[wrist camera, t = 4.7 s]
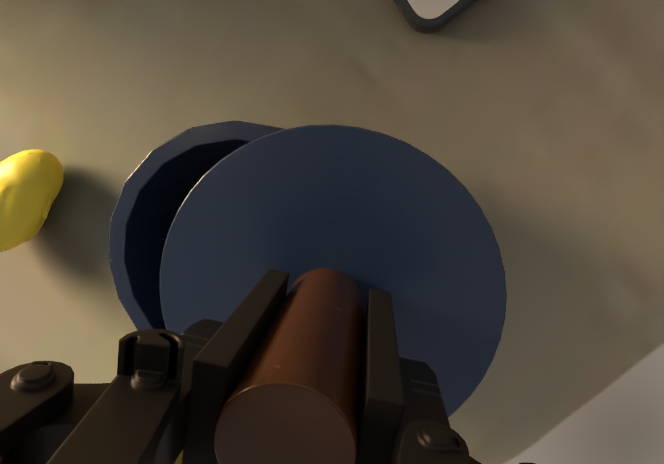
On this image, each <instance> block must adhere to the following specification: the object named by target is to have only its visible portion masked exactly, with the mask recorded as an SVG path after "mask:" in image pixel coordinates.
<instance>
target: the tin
mask: <svg viewBox="0 0 664 464" xmlns="http://www.w3.org/2000/svg"><path fill="white" fill-rule="evenodd" d="M281 130H285V129H283V128H277V127H271V126H265V125H259V124H253V123H247V122H242V121H228V122H222V123H216V124H210V125H204V126H198V127H192V128H191V129H187V130H186V131H184V132H182V133H180V134H179V135H177V136H175V137H173V138H171V139H170V140H168V141H166V142H164V143H163V144H161V145H159V146H157V147H155V148H154V149H153V150H152V151H151V152H150V153H149V154H148V155H147V157H146V158H145V159H144V160H143V161H142V162H141V164H140V165H139V166H138V167H137V168H136V169H135V170H134V172H133V173H132V174H131V175H130V176H129V177H128V179H127V180H126V181H125V183H124V186H123V188H122V191H121V193H120V196H119V199H118V201H117V204H116V206H115V209H114V211H113V214H112V217H111V220H110V238H109V264H110V268H111V271H112V275H113V279H114V283H115V286H116V290H117V294H118V298H119V300H120V302H121V303H122V305H123V307H124V308H125V310H126V312H127V313H128V315H129V316H130V318H131V320H132V321H133V323H134V325H135V326H136V328H137V330H146V329H164V330H166V326H165V322H164V318H163V314H162V308H161V299H160V268H161V261H162V254H163V249H164V246H165V242H166V239H167V235H168V232H169V229H170V227H171V225H172V222H173V220H174V218H175V216H176V213H177V211H178V209H179V208H180V206H181V205H182V203H183V201H184V200H185V198H186V197H187V195H188V194H189V192H190V191H191V189H192V188H193V187H194V186H195V185H196V184H197V182H198V181H199V180H200V179H201V178H202V177H203V175H204V174H205V173H207V172H208V171H209V170H210V169H211V168H212V167H213V166H214V165H216V164H217V163H218V162H219V161H220V160H221V159H223V158H224V157H226V156H227V155H229V154H230V153H232V152H233V151H235V150H236V149H238V148H239V147H241V146H243V145H245V144H247V143H250V142H252V141H254V140H256V139H258V138H260V137H262V136H265V135H269V134H272V133H275V132H278V131H281Z"/></svg>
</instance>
